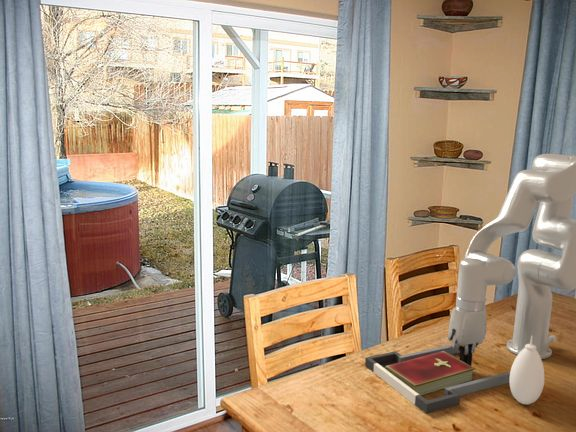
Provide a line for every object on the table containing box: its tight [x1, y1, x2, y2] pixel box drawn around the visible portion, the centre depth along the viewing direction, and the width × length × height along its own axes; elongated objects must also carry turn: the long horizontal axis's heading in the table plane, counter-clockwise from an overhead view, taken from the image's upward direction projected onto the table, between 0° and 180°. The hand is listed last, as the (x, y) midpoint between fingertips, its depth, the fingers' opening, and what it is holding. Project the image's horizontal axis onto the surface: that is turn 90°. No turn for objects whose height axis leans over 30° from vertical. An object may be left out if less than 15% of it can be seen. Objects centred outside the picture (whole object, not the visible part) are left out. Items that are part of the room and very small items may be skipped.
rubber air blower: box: [508, 336, 545, 405], centre depth 132 cm, size 8×8×18 cm
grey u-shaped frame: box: [364, 344, 510, 414], centre depth 146 cm, size 31×26×2 cm
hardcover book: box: [385, 351, 476, 397], centre depth 144 cm, size 12×21×4 cm, turn 118°
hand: (465, 365), depth 150 cm, fingers closed
